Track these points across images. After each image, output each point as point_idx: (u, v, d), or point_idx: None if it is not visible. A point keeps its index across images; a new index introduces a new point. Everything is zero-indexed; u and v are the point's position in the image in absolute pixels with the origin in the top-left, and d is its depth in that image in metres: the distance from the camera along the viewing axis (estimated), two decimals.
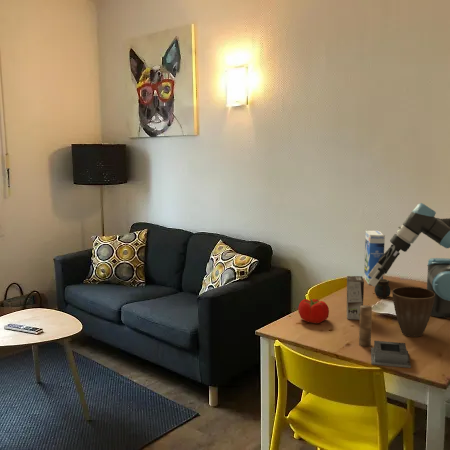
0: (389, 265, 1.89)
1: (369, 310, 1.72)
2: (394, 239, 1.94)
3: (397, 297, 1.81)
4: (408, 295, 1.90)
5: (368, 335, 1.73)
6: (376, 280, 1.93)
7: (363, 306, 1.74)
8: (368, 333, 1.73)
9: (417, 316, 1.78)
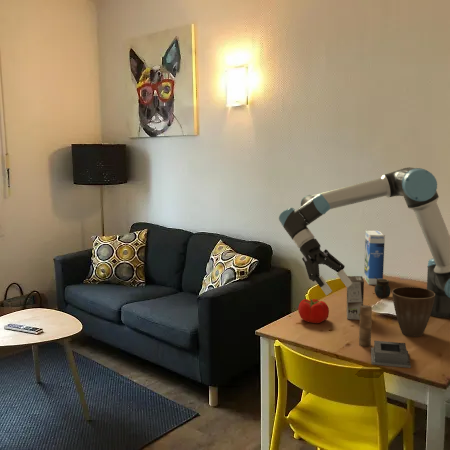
0: (310, 269, 1.78)
1: (369, 310, 1.72)
2: None
3: (397, 297, 1.81)
4: (408, 295, 1.90)
5: (368, 335, 1.73)
6: (325, 286, 1.76)
7: (363, 306, 1.74)
8: (368, 333, 1.73)
9: (417, 316, 1.78)
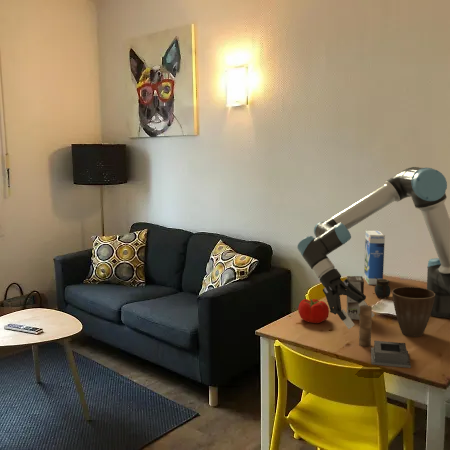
0: (331, 301, 1.72)
1: (369, 310, 1.72)
2: None
3: (397, 297, 1.81)
4: (408, 295, 1.90)
5: (368, 335, 1.73)
6: (347, 320, 1.71)
7: (363, 306, 1.74)
8: (368, 333, 1.73)
9: (417, 316, 1.78)
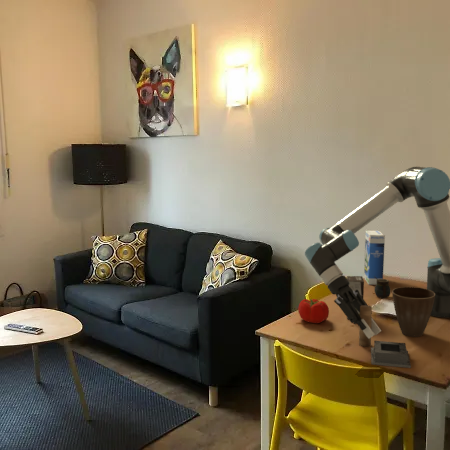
0: (348, 312, 1.72)
1: (369, 310, 1.72)
2: None
3: (397, 297, 1.81)
4: (408, 295, 1.90)
5: None
6: (367, 329, 1.71)
7: (363, 306, 1.74)
8: None
9: (417, 316, 1.78)
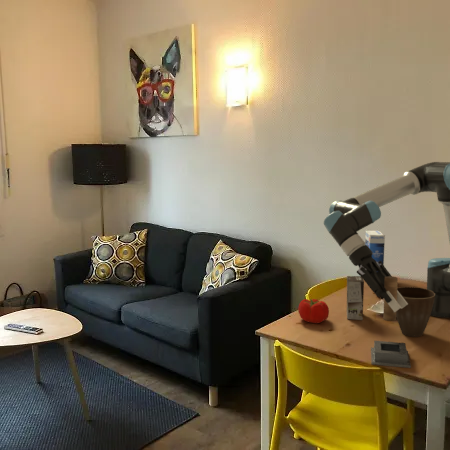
0: (373, 283, 1.59)
1: (395, 281, 1.59)
2: (351, 261, 1.68)
3: None
4: (408, 295, 1.90)
5: None
6: (393, 302, 1.58)
7: (388, 277, 1.61)
8: None
9: (417, 316, 1.78)
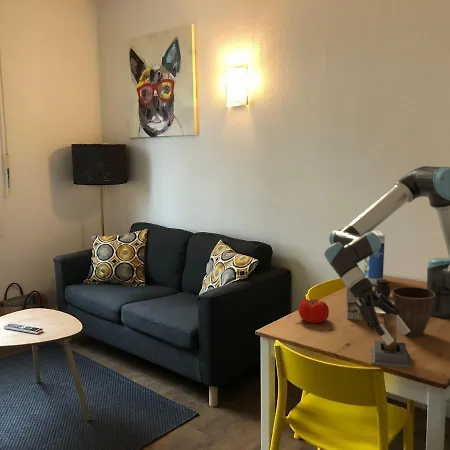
0: (367, 315, 1.59)
1: (394, 319, 1.60)
2: (352, 293, 1.69)
3: (397, 296, 1.81)
4: (408, 295, 1.90)
5: (393, 346, 1.61)
6: (386, 335, 1.57)
7: (387, 315, 1.62)
8: (393, 344, 1.61)
9: (417, 316, 1.78)
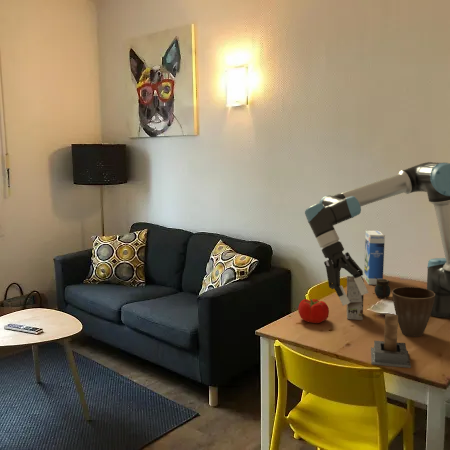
0: (331, 276, 1.71)
1: (395, 319, 1.60)
2: (323, 253, 1.79)
3: (397, 297, 1.81)
4: (408, 295, 1.90)
5: (394, 346, 1.61)
6: (343, 297, 1.70)
7: (388, 315, 1.62)
8: (394, 344, 1.61)
9: (417, 316, 1.78)
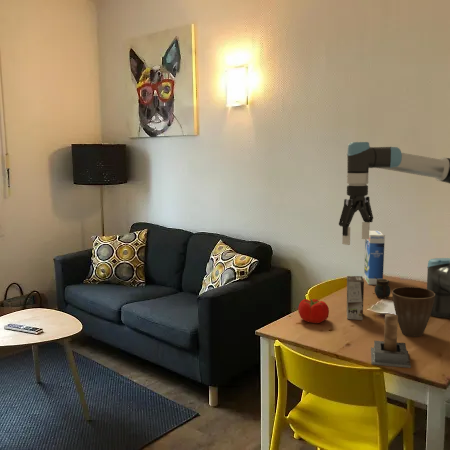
0: (345, 216, 1.76)
1: (395, 319, 1.60)
2: None
3: (397, 297, 1.81)
4: (408, 295, 1.90)
5: (393, 346, 1.61)
6: (346, 237, 1.78)
7: (388, 315, 1.62)
8: (394, 344, 1.61)
9: (417, 316, 1.78)
